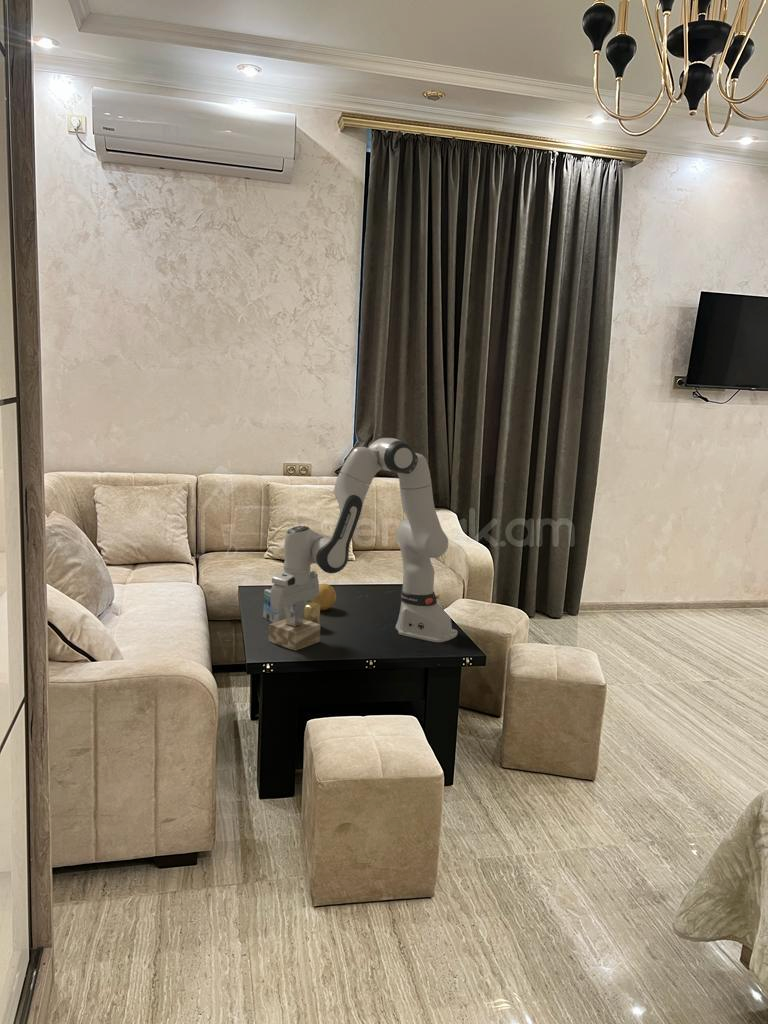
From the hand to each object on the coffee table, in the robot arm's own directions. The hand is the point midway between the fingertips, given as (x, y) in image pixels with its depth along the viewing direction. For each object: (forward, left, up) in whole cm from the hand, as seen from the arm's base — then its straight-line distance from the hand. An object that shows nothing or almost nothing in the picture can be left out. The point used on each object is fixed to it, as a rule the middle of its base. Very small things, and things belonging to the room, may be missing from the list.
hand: (294, 615), depth 252 cm
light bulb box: (+19, -12, -9) cm, 24 cm away
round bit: (+6, -15, -9) cm, 19 cm away
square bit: (0, 0, -5) cm, 5 cm away
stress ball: (+16, -33, -9) cm, 38 cm away
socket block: (0, 0, -9) cm, 9 cm away
